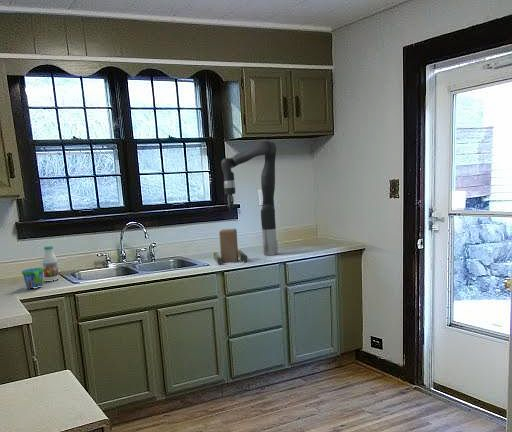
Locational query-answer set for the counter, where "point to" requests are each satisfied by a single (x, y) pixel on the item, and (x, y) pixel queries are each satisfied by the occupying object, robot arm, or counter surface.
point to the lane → (240, 255)
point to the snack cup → (33, 277)
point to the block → (228, 245)
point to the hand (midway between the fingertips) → (231, 212)
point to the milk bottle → (50, 264)
